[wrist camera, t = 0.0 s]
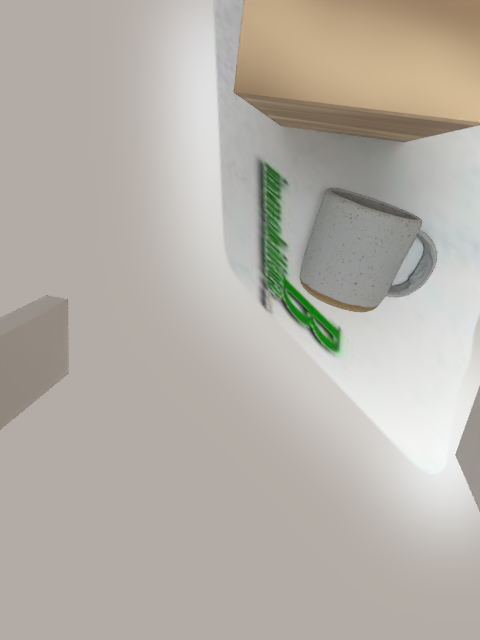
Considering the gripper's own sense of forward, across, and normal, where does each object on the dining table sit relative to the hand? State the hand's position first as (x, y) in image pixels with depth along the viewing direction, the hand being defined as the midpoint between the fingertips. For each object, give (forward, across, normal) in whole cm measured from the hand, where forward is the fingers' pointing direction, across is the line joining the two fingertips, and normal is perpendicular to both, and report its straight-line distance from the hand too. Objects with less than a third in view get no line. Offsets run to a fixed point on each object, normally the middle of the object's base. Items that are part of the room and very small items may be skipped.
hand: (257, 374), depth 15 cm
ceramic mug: (+28, +6, 0) cm, 29 cm away
